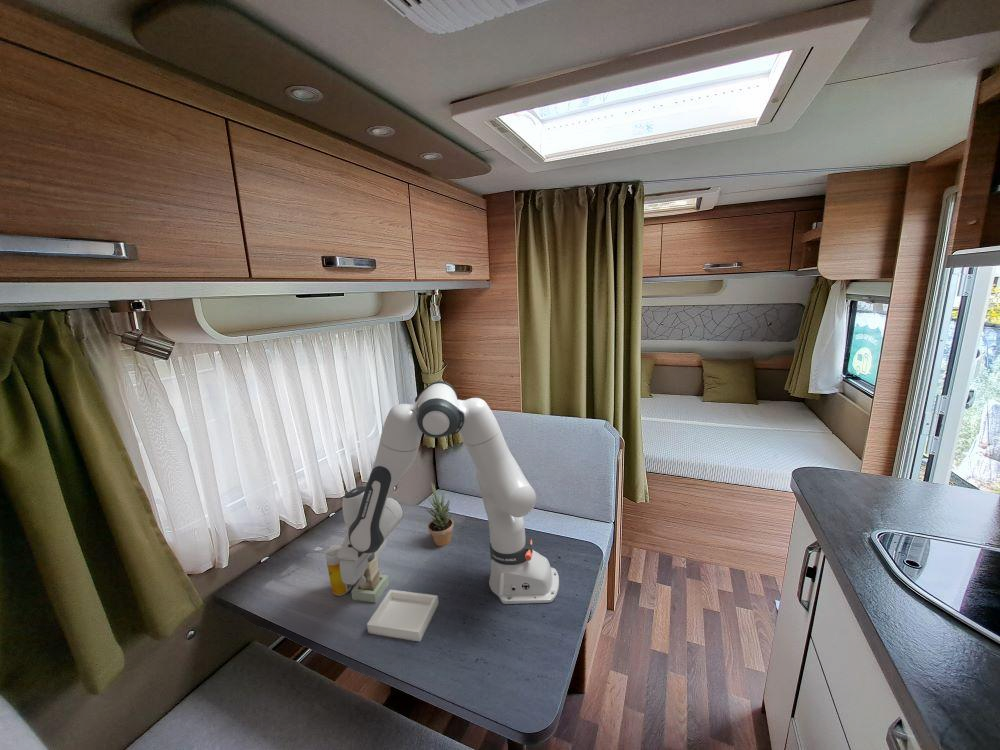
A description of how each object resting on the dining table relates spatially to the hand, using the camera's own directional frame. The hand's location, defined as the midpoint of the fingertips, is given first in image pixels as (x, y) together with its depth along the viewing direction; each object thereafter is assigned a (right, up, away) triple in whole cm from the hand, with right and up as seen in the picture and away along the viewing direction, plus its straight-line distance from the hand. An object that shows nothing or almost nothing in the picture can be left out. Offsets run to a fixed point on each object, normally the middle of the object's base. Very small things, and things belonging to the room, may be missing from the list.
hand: (369, 575), depth 122 cm
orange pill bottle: (-10, -6, +3) cm, 12 cm away
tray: (+14, -7, -10) cm, 19 cm away
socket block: (0, -6, +1) cm, 6 cm away
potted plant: (+20, 0, +24) cm, 31 cm away
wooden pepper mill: (0, -6, +1) cm, 6 cm away
